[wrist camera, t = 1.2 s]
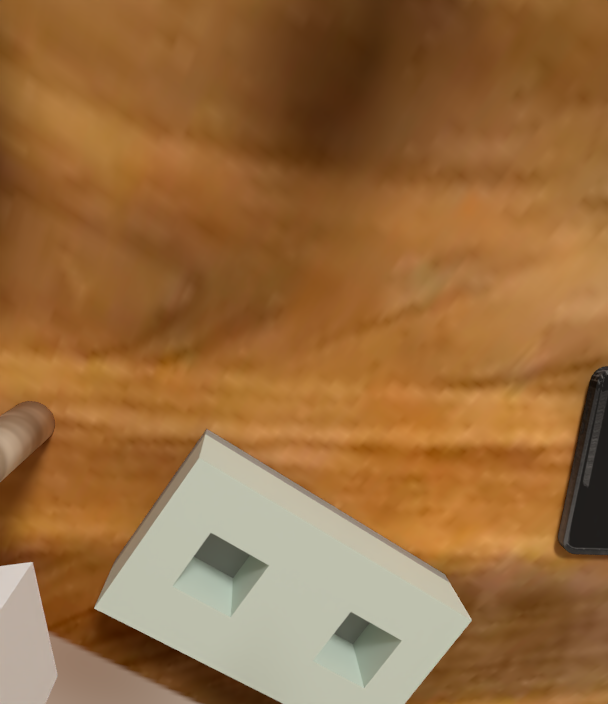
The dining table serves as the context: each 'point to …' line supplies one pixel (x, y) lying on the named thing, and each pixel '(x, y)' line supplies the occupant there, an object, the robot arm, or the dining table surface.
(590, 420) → the phone
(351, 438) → the dining table surface
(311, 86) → the dining table surface
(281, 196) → the dining table surface
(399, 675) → the hole block
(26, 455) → the birch pin
